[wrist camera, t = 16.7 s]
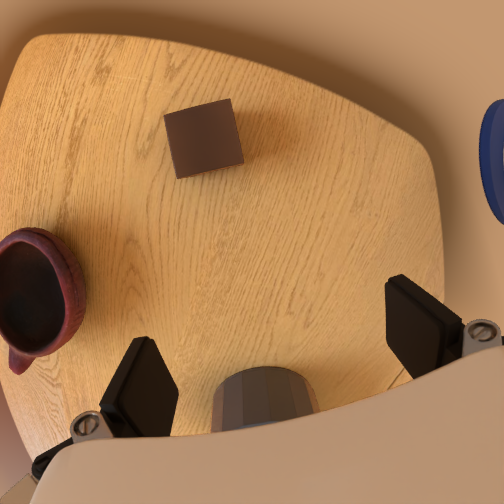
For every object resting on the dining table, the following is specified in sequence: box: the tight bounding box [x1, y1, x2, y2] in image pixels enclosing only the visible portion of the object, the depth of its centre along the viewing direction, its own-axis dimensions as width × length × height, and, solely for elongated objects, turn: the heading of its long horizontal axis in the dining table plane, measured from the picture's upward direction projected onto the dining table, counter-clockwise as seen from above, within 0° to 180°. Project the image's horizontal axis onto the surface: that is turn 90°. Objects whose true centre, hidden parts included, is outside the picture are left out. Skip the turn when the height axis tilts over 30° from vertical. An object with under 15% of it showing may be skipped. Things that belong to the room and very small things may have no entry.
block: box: [164, 99, 244, 179], centre depth 22 cm, size 5×5×5 cm
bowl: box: [0, 227, 86, 375], centre depth 23 cm, size 16×13×8 cm
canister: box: [210, 367, 320, 433], centre depth 28 cm, size 13×13×8 cm
